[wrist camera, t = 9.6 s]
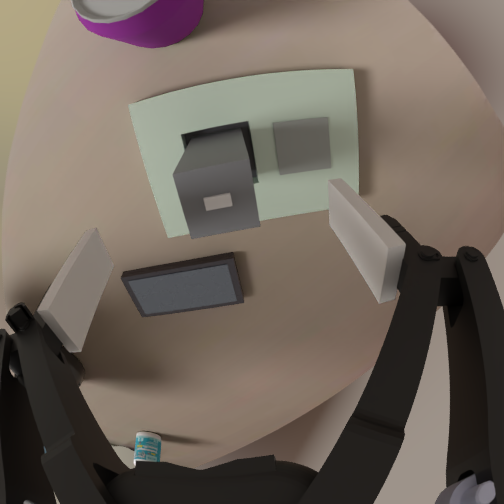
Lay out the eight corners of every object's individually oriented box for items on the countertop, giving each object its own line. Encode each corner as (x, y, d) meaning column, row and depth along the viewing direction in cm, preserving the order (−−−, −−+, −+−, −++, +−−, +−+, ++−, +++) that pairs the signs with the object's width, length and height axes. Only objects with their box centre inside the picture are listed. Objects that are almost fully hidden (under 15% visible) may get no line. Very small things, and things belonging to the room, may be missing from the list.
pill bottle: (160, 432, 65) (158, 475, 54) (162, 439, 69) (160, 479, 58) (134, 428, 64) (130, 470, 53) (138, 436, 68) (134, 475, 57)
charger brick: (202, 179, 27) (191, 240, 18) (192, 136, 25) (171, 175, 16) (247, 171, 27) (260, 228, 18) (240, 127, 25) (249, 159, 16)
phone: (143, 310, 37) (142, 317, 36) (123, 271, 33) (120, 278, 32) (243, 296, 37) (244, 303, 36) (232, 252, 33) (233, 258, 32)
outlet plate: (171, 228, 30) (167, 239, 29) (134, 102, 22) (127, 105, 21) (351, 197, 30) (359, 205, 28) (344, 69, 22) (354, 69, 20)
